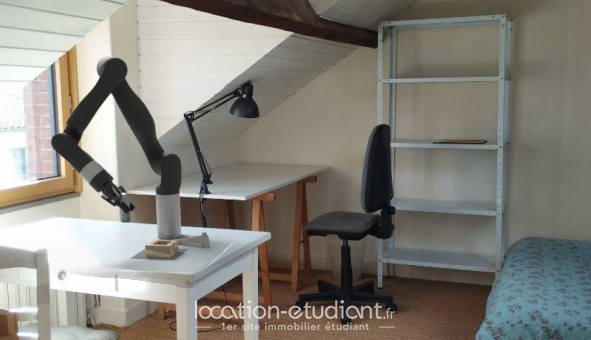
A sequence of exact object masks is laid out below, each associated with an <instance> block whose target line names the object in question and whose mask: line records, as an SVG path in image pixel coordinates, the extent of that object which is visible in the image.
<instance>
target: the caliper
mask: <svg viewBox="0 0 591 340" xmlns="http://www.w3.org/2000/svg"><path fill="white" fill-rule="evenodd" d="M175 240H178V244H184V243H185V244H187V243H192V245H195V244H196V245H197V244H199V243H200V245H201V248H205V247H206V248H208V249H209V248H210V244H211V243H210V237H209V235H208V234H207V232H206V231H205V232H201V235H196V236H191V237H187V238H175Z"/></svg>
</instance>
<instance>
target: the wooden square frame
mask: <svg viewBox="0 0 591 340" xmlns="http://www.w3.org/2000/svg"><path fill="white" fill-rule="evenodd" d="M144 249H145V254H146V257H167V258H170V257H171V256H173V255H174V254H176V253H177V252H178V251H179V249H180V248H179V243H178V240H176V239H154V240H152V241H150V242H148V243H147V244H146V245H144Z"/></svg>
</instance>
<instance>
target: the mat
mask: <svg viewBox="0 0 591 340" xmlns="http://www.w3.org/2000/svg"><path fill="white" fill-rule="evenodd" d="M188 250H189V248H179V251H178V252H177V253H176V254H174V255H173V256H171V257H170V258H167V257H146V254H145V248H144V249H142V250H141V251H139V252H138V253H136V254H135V255H133V256H131V257H130V258H129V259H136V260H161V261H162V260H164V261H175V260H176V259H178V258H179V257H181V256H182V255H183V254H185V253H186V252H187V251H188Z"/></svg>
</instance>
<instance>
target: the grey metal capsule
mask: <svg viewBox="0 0 591 340" xmlns="http://www.w3.org/2000/svg"><path fill="white" fill-rule="evenodd" d="M130 197H131V196H130V193H129V192H127V193H121V194H120V198H121V199H122V201H123V202H124V203H125V204H126V205H127V206H128V207H129V208H130V202H131V199H130ZM120 216H121V217H120V219H121V223H124V224H126V223H127V224H128V223H131V222H132V215H131V211H130V212H129V213H127V214H126V213H125V212H124V211H123V210H122V209H121V208H120Z"/></svg>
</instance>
